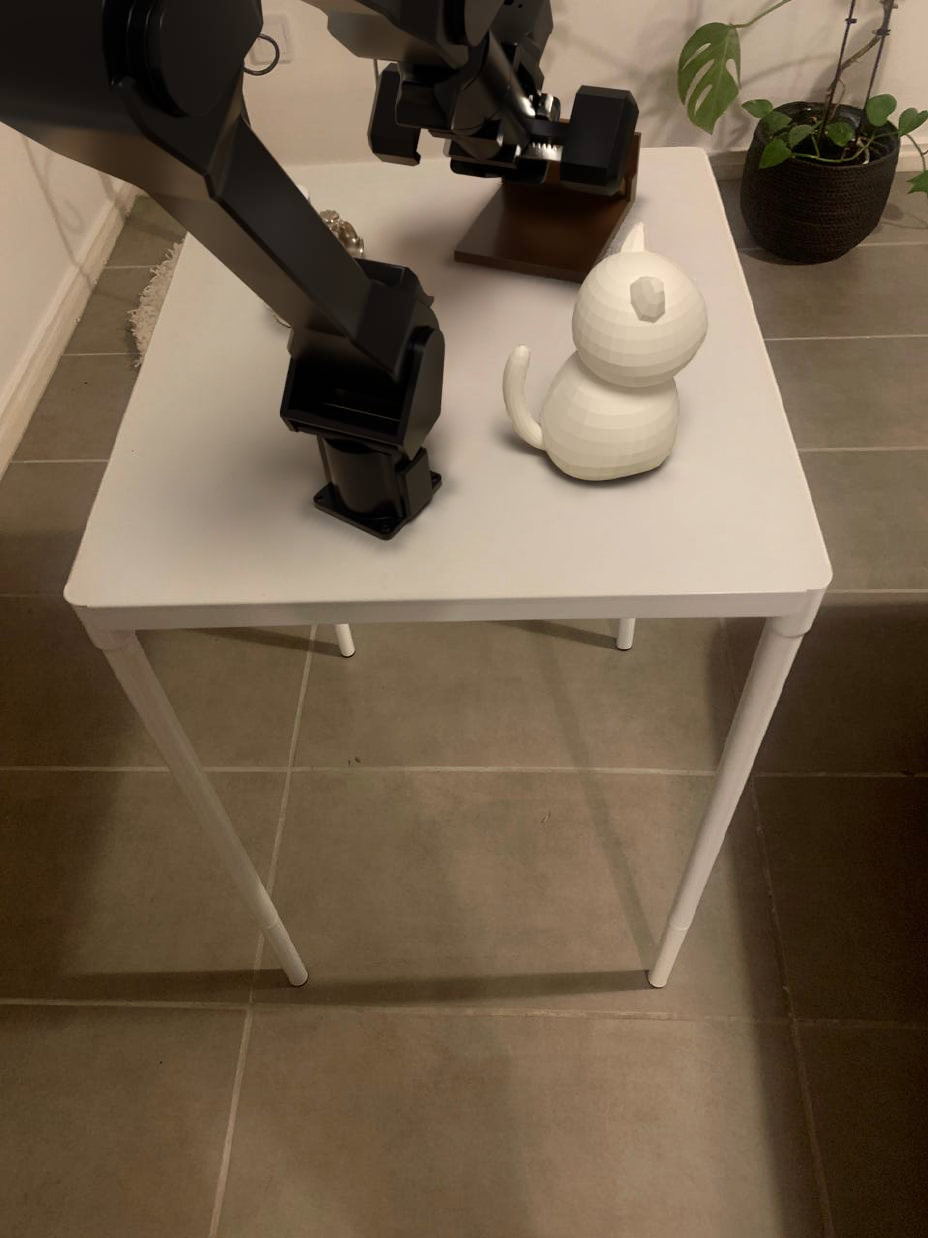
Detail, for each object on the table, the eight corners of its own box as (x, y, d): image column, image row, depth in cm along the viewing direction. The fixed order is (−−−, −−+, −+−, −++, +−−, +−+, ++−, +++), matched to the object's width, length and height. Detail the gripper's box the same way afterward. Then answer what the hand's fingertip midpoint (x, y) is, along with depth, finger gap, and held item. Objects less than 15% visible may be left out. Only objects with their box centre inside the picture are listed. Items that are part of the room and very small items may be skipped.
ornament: (379, 240, 83) (373, 200, 80) (350, 284, 79) (343, 244, 76) (297, 230, 85) (288, 191, 82) (264, 272, 81) (255, 232, 78)
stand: (589, 285, 77) (593, 215, 72) (452, 260, 80) (448, 192, 76) (636, 199, 85) (642, 132, 80) (510, 181, 88) (509, 114, 83)
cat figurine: (698, 491, 62) (738, 289, 50) (510, 506, 62) (505, 308, 50) (672, 403, 67) (703, 203, 56) (499, 417, 67) (493, 220, 56)
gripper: (645, -47, 55) (671, 74, 70) (360, -68, 60) (441, 48, 75) (597, 152, 57) (633, 228, 72) (326, 115, 62) (411, 193, 77)
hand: (527, 169), depth 74 cm, fingers closed
